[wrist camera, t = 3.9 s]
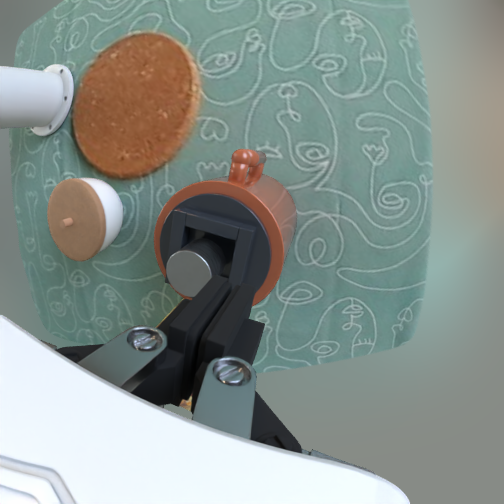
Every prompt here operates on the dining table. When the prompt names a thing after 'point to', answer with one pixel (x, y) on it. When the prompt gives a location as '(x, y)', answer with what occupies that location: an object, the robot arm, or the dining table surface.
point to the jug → (233, 223)
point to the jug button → (195, 266)
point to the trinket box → (84, 217)
